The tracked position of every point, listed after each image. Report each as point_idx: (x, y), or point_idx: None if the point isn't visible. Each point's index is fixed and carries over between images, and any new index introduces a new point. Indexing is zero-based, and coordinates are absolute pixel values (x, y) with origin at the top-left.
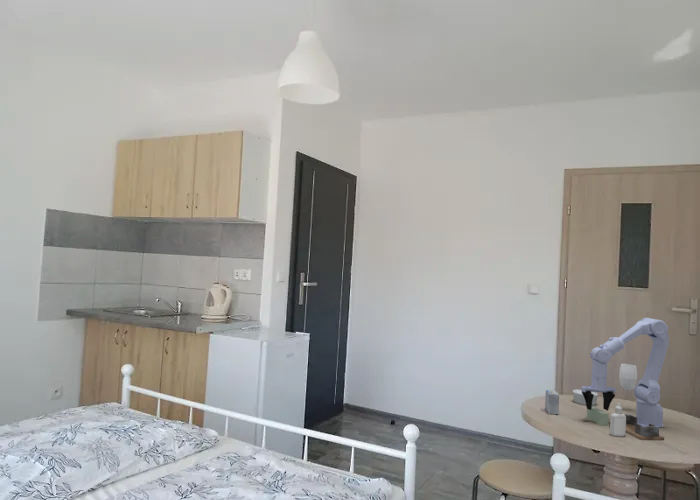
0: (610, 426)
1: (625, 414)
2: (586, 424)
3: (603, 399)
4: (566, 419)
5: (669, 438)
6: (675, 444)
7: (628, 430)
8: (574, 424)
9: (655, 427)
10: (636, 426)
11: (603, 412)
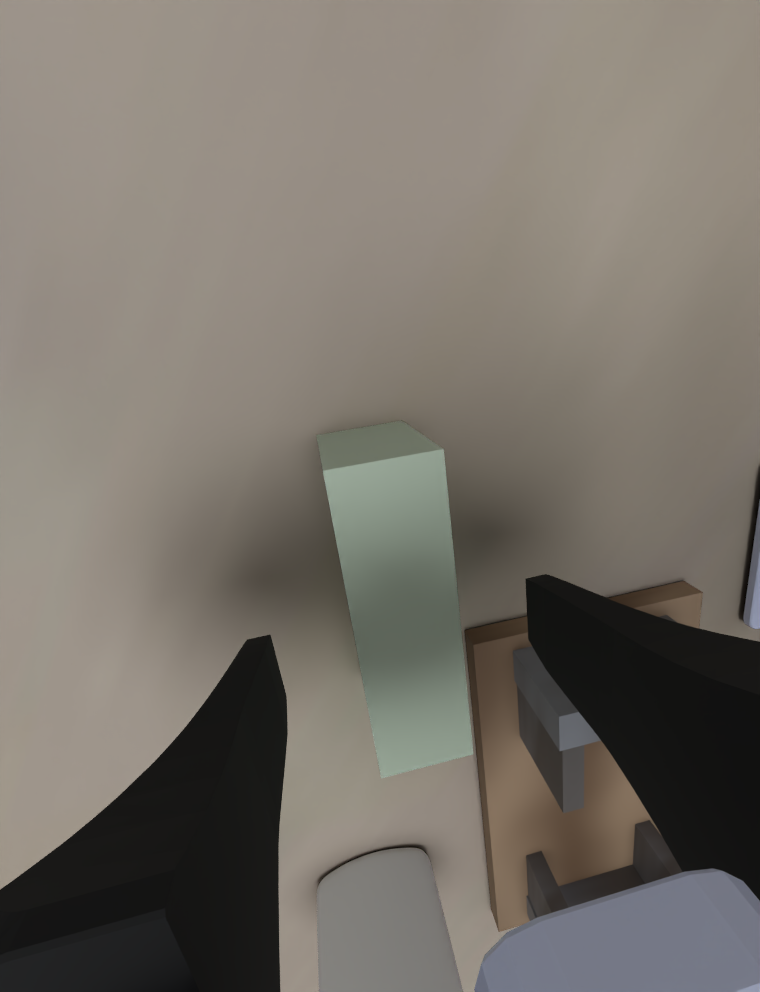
0: (319, 966)
1: None
2: (209, 688)
3: (625, 640)
4: (7, 569)
5: None
6: None
7: (504, 825)
8: (65, 726)
9: None
10: None
11: (429, 730)
